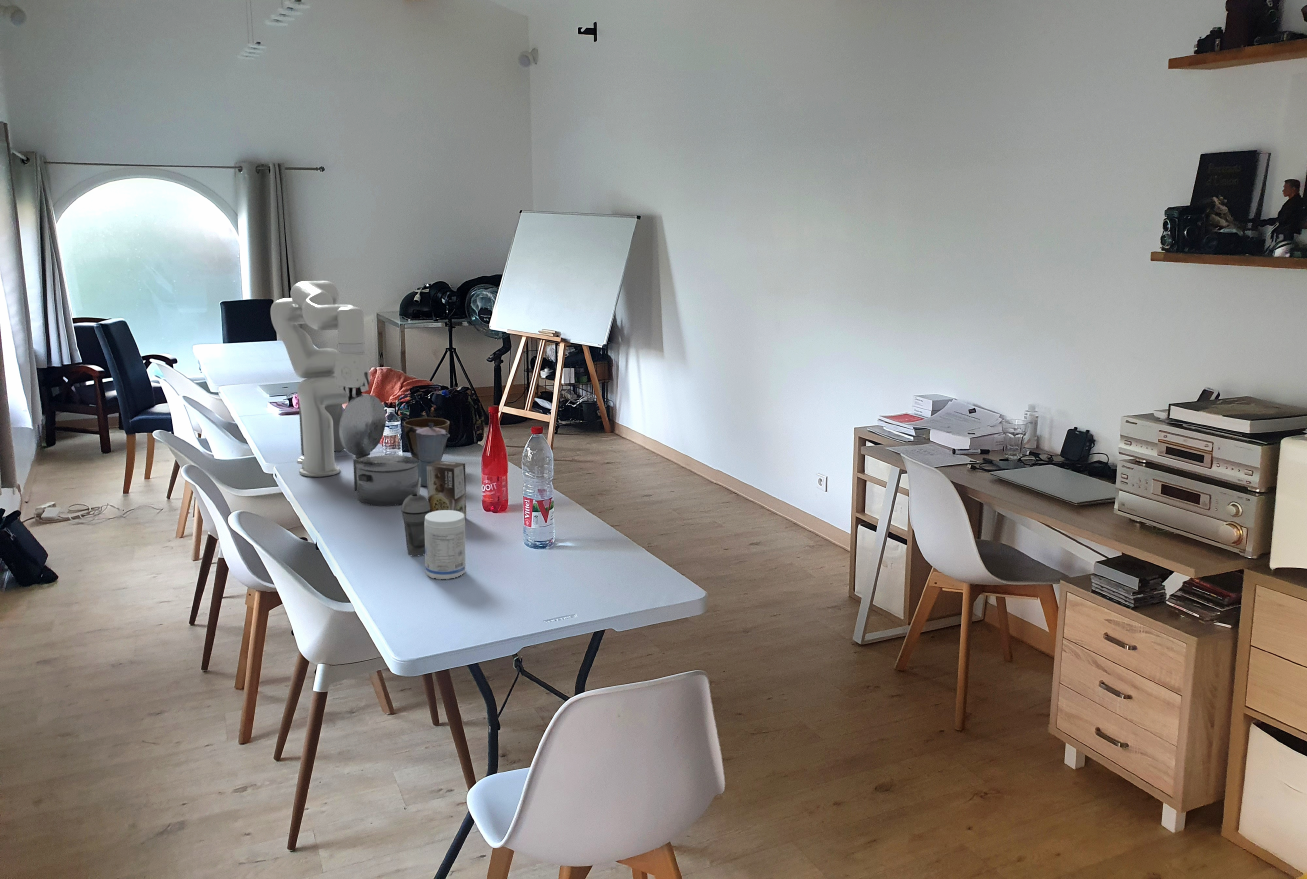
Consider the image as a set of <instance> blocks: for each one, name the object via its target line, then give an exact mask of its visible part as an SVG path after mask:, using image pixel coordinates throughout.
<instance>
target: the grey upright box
mask: <svg viewBox="0 0 1307 879" xmlns="http://www.w3.org/2000/svg"><path fill="white" fill-rule="evenodd" d="M324 408H325V410H326V411H327V412H328V413H329V414H330V415H331V417H332V420H333V435H334V451H340V452H343V451H345V449H344V447H343V446H342V444H341V441H340V437H339V424H340V419H341V415H342V413H343V411H344V409H343V404H340V405H330V406H325V407H324ZM298 412H299V413H298V414H299V415H298V416H299V429H300V430H299V432H300V450H301V452H300V453H301V454H302V455H303V454H304V447H303V428H302V415H301V407H300V404H299V405H298ZM342 450H343V451H342Z"/></svg>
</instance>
